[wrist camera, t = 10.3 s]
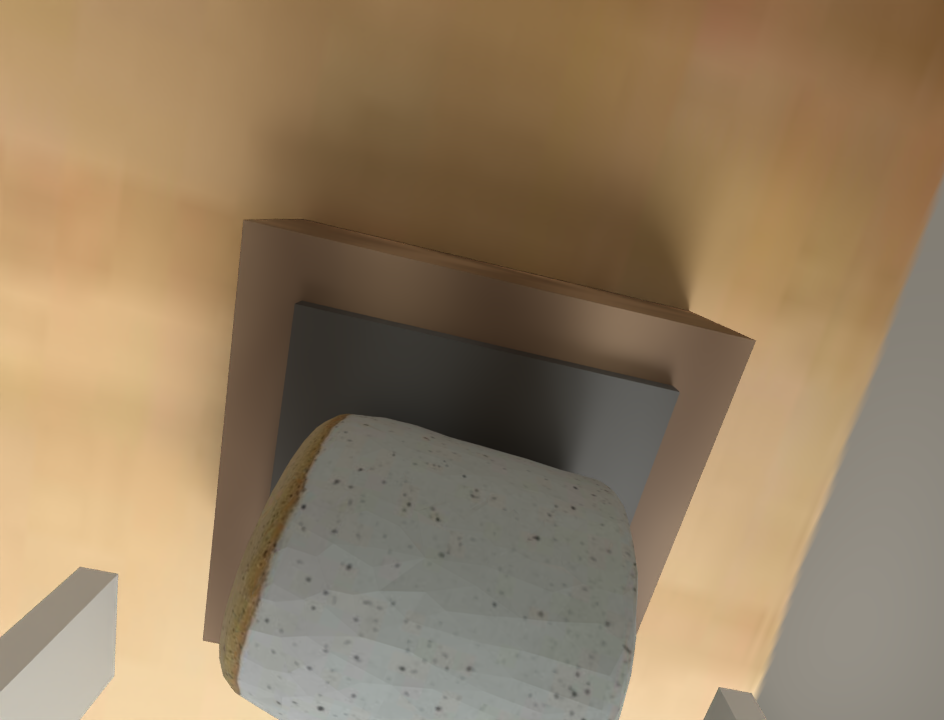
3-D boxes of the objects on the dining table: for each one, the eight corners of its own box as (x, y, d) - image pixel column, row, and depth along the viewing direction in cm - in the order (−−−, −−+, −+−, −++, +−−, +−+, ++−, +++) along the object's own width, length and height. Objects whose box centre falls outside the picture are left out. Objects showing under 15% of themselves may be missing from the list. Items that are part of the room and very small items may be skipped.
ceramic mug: (346, 362, 15) (213, 510, 8) (597, 437, 16) (699, 641, 8) (283, 625, 18) (145, 909, 11) (495, 679, 19) (502, 987, 11)
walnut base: (258, 554, 24) (194, 653, 18) (302, 219, 19) (233, 219, 14) (578, 619, 24) (605, 733, 19) (690, 311, 20) (766, 345, 15)
